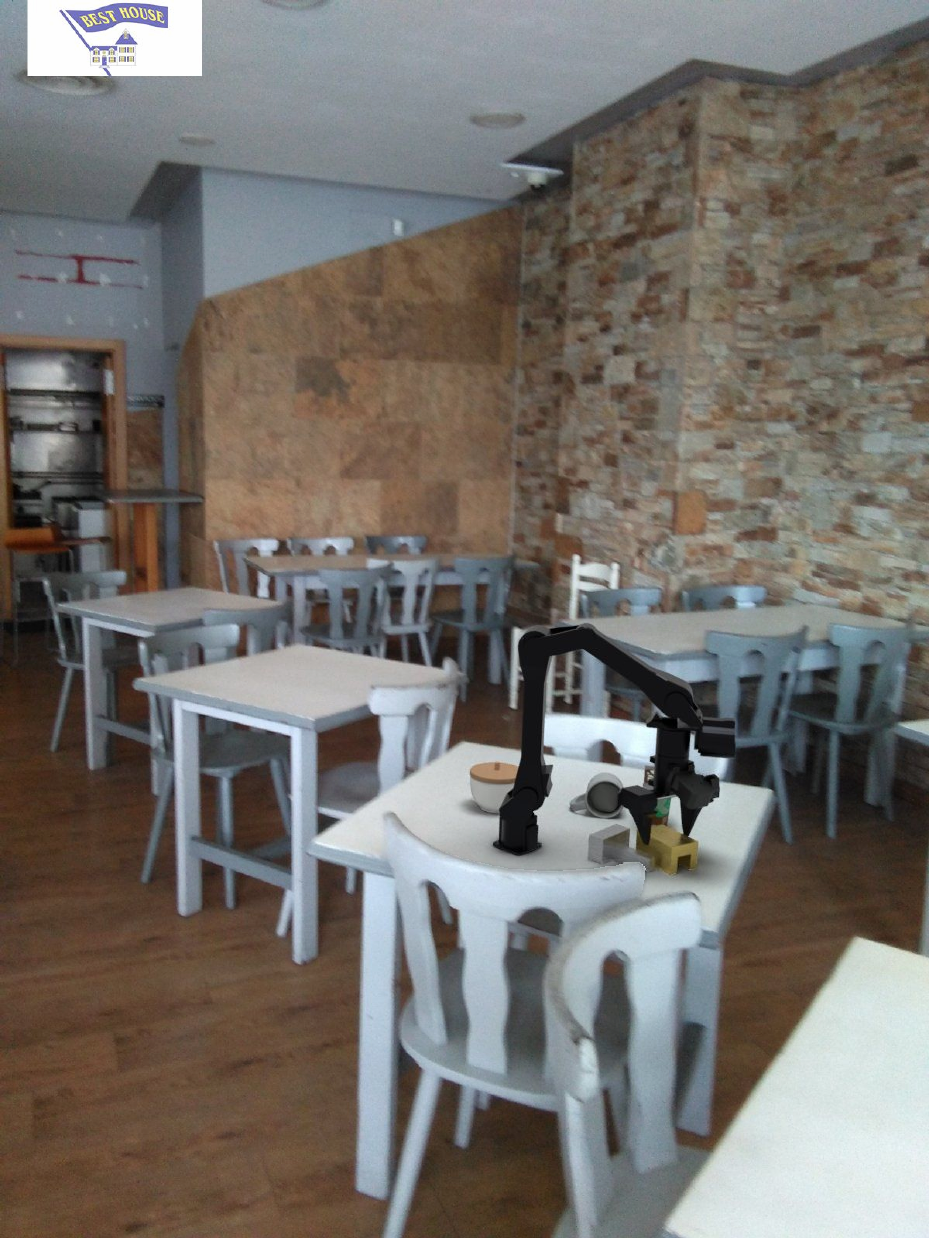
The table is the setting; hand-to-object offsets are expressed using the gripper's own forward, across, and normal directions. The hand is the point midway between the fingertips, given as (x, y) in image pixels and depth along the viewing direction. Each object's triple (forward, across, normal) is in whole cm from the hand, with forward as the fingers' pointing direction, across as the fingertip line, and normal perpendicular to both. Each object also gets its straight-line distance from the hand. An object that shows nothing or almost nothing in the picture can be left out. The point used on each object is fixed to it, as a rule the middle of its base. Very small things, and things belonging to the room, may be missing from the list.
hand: (666, 839), depth 182 cm
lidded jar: (+4, -12, +36) cm, 38 cm away
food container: (+4, +11, +14) cm, 18 cm away
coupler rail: (+4, -6, +3) cm, 8 cm away
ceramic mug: (+4, +5, +26) cm, 27 cm away
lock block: (+4, 0, 0) cm, 4 cm away
